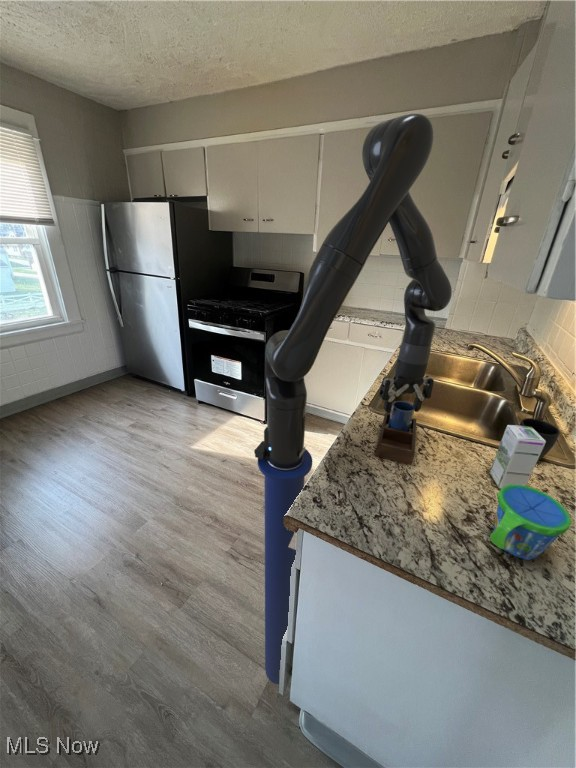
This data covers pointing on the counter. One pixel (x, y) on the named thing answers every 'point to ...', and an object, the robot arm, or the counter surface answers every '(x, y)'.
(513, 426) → the syrup box
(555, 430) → the mug
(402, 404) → the tumbler
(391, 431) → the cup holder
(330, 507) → the counter surface
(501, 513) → the snack cup
